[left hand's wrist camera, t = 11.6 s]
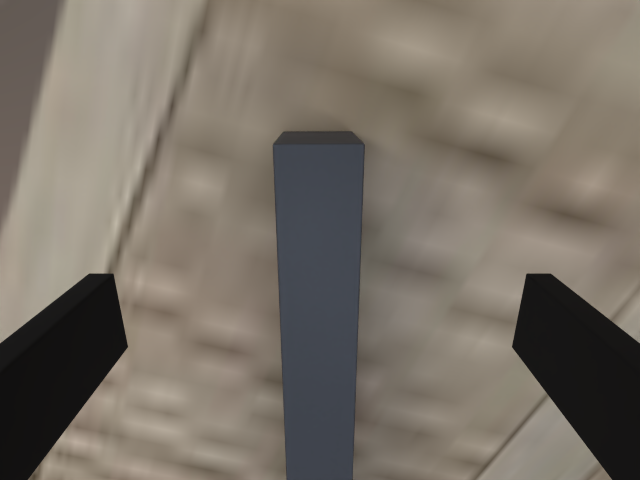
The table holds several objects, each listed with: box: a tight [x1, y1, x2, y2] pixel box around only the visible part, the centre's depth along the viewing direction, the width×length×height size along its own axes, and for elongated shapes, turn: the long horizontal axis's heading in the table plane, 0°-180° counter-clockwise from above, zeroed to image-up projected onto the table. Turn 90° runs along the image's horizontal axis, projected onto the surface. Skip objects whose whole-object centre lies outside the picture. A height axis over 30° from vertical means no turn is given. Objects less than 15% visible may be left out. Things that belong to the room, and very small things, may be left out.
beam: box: [273, 131, 365, 480], centre depth 35 cm, size 56×5×7 cm, turn 0°
